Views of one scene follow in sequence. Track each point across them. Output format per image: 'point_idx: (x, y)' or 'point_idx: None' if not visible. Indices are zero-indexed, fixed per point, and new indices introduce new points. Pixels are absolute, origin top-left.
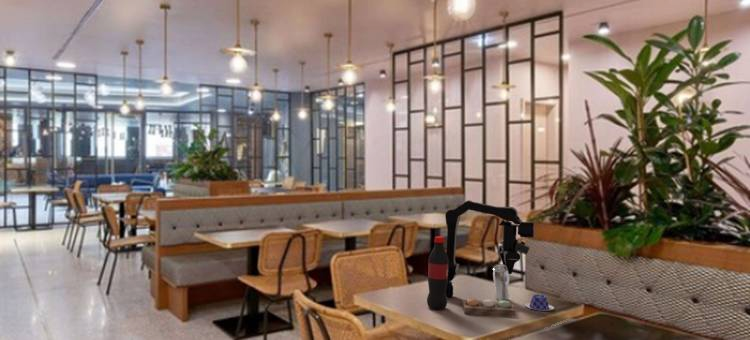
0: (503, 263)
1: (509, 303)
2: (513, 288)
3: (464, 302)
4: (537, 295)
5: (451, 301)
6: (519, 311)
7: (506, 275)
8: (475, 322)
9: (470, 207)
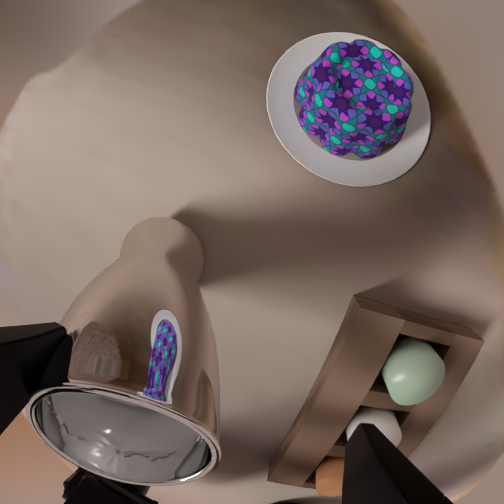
0: (19, 408)
1: (438, 356)
2: (23, 118)
3: (309, 485)
4: (334, 77)
5: None
6: (414, 267)
7: (212, 381)
8: (450, 459)
9: None
